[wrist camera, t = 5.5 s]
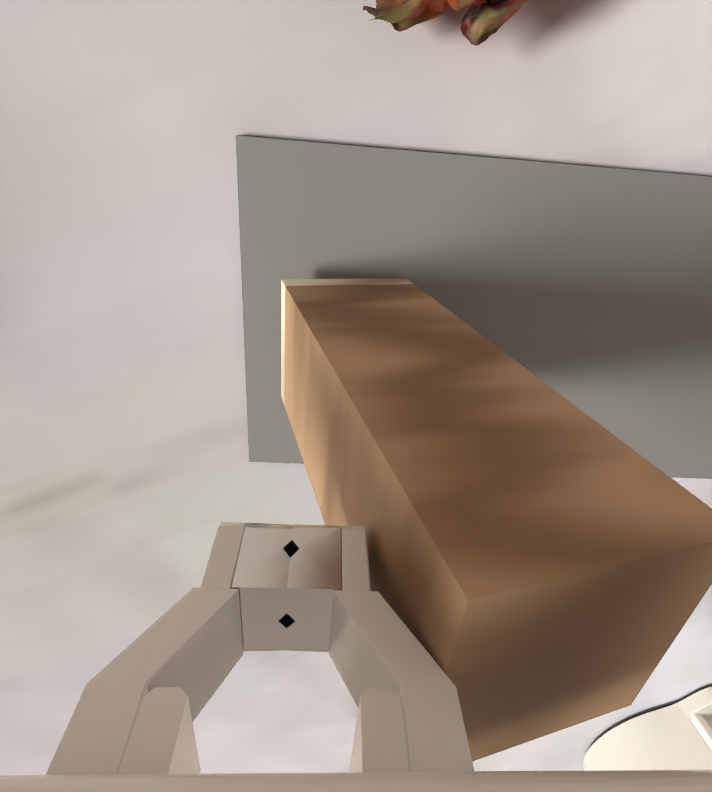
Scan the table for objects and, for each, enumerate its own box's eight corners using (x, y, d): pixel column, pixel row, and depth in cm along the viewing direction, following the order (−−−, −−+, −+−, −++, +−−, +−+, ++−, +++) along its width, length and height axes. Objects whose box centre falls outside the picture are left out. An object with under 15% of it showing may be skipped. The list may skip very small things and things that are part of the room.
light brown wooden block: (406, 277, 19) (745, 534, 8) (391, 387, 21) (630, 704, 10) (281, 279, 18) (467, 600, 6) (281, 396, 20) (414, 781, 9)
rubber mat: (866, 189, 18) (877, 191, 18) (706, 473, 25) (711, 478, 25) (237, 135, 17) (235, 135, 16) (250, 456, 24) (249, 461, 23)
